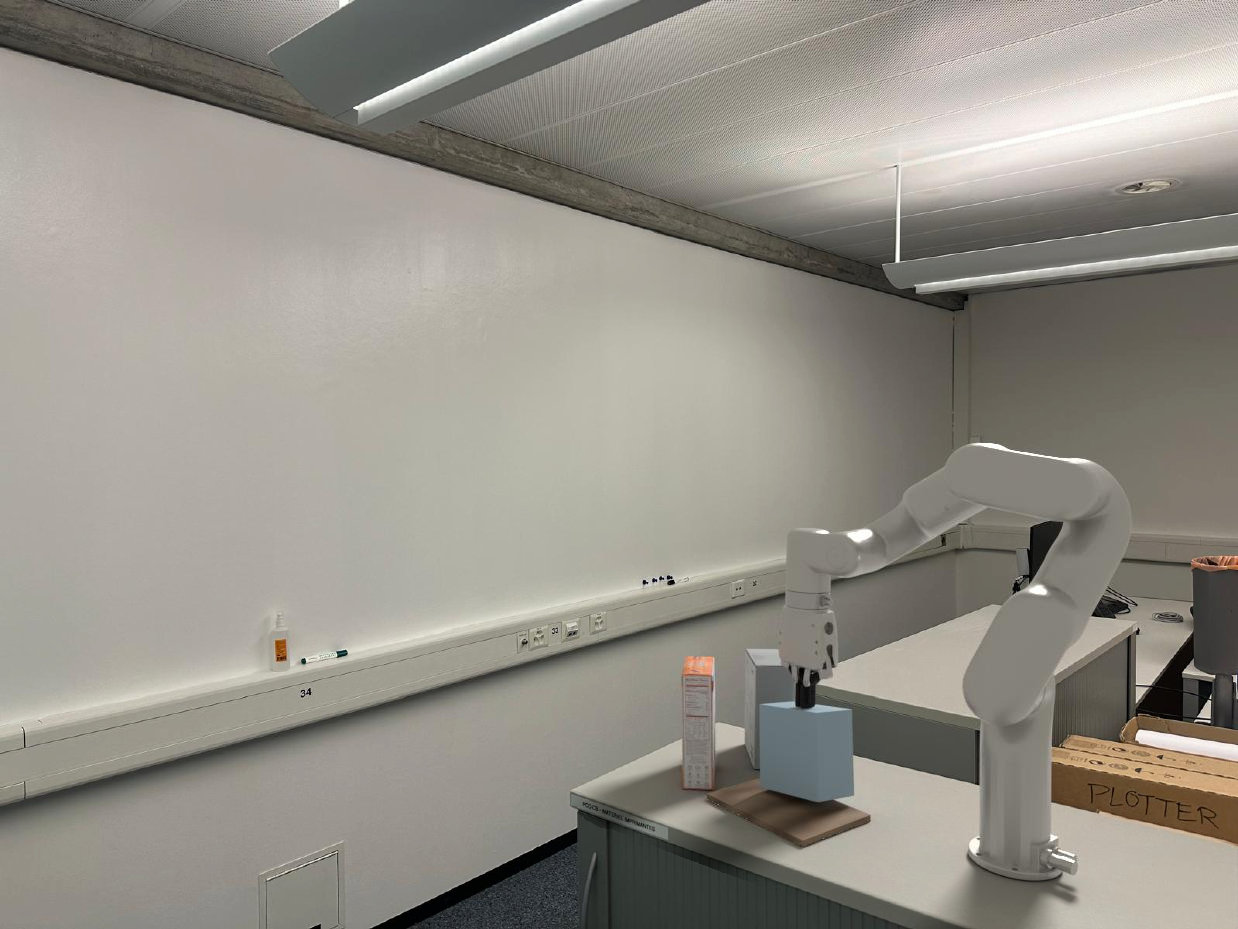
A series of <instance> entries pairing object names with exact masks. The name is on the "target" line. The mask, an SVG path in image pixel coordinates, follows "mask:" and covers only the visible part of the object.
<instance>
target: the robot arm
mask: <svg viewBox="0 0 1238 929" xmlns="http://www.w3.org/2000/svg"><path fill="white" fill-rule="evenodd" d="M987 508H990V509H994V510H1000V511H1003V512H1008V513H1014V514H1018V515H1023V516H1028V517H1032V518H1035V519H1041V520H1045V521H1051V522H1059V523H1062V526H1061V530H1060V531H1059V533H1058V536H1057V537H1056V539H1055V540H1054V542H1053V543H1052V544H1051V546H1050V548H1049V550H1048V552H1047V553H1046V555H1045V558H1044V560H1043V561H1042V563H1041V565H1040V567H1039V569H1038V570H1037V572H1036V574H1035V576H1034V577H1033V579H1032V580H1031V582H1029V584H1028V585H1027V586H1026V587H1025V588H1023V589H1021V590H1020V591H1017V592H1015V593H1014V594H1013V595H1011V596H1010V597H1009V598H1007V600H1006V601H1005V602H1004V603H1003V604H1002V605H1001V606H1000V608H999V610H998V611H997V613H996V614H995V616H994V618H993V620H992V621H991V624H990V625H989V627H988V628H987V631H986V633H985V634H984V635H983V638H982V640H981V641H980V643H979V645H978V647H977V649H976V651H975V652H974V654H973V656H972V658H971V659H970V662H969V663H968V665H967V667H966V670H965V671H964V674H963V678H962V682H961V683H962V686H961V689H962V695H963V700H964V702H965V704H966V706H967V707H968V708H969V710H970V712H971V713H972V714H973V715H974V716H975V717H976V718H978V720H979V719H980V730H979V732H980V733H979V736H980V737H979V835H978V836H976V837H973V838H972V839H971V840H969V841H968V845H967V853H968V856H969V857H970V858H971V859H972V861H973V862H974V863H975V864H976V865H979V866H980V867H981V868H983V869H984V870H985V869H986V870H987V871H989V872H991V873H995V874H997V875H1000V876H1002V877H1003V876H1004V877H1006V878H1010V879H1011V878H1012V879H1016V880H1024V881H1046V880H1047V881H1048V880H1051V879H1054V878H1057V877H1058V876H1060V875H1061V874H1062V873H1065V874H1069V875H1071V876H1075V875H1076V874H1077V872H1078V868H1079V865H1078V856H1077V855H1076V854H1075V853H1071V852H1068V851H1064V850H1061V847H1059V837H1058V836H1056V835H1053V834H1052V759H1053V758H1052V755H1053V754H1052V753H1053V752H1052V751H1053V750H1052V746H1053V744H1052V743H1053V741H1052V740H1053V720H1054V712H1055V703H1056V702H1055V700H1056V678H1055V673H1054V672H1055V671H1056V669H1057V667H1058V666H1059V664H1060V662H1061V660H1062V659H1063V657H1064V656H1065V654H1066V652H1068V650H1069V649H1070V648H1071V647H1072V646H1074V645H1075V644H1076V643H1077V642H1078V641H1079V640H1080V639H1081V637H1082V636H1083V634H1084V632H1085V630H1086V627H1087V624H1088V623H1089V621H1090V619H1091V617H1092V615H1093V613H1094V611H1095V609H1096V608H1097V605H1098V604H1099V602H1100V600H1101V599H1102V597H1103V595H1104V594H1105V592H1106V590H1107V588H1108V586H1109V584H1110V582H1111V580H1112V578H1113V576H1114V574H1116V573H1115V572H1117V569H1118V567H1119V565H1120V564H1121V561H1122V560H1123V557H1124V556H1125V554H1126V551H1127V548H1128V546H1129V542H1130V540H1131V539H1130V538H1131V536H1132V529H1133V517H1132V509H1131V505H1130V502H1129V499H1128V497H1127V495H1126V493H1125V490H1124V489H1123V487H1122V486H1121V485H1120V483H1119V482H1118V480H1117V479H1116V478H1115V477H1114V476H1113V475H1112V473H1110V471H1108V469H1106V468H1105V467H1103V466H1102V465H1100V464H1098V463H1096V462H1094V461H1092V460H1088V459H1085V458H1062V457H1060V458H1059V457H1054V456H1046V455H1042V454H1035V453H1029V452H1021V451H1016V450H1011V449H1008V448H1007V447H1005V446H1002V445H1000V444H998V443H997V444H995V443H983V442H982V443H981V442H975V443H968V444H965V445H963V446H961V447H959V448H957V449H956V450H955V451H953V452H952V453H951V454H950V456H949V457H948V459H947V460H946V462H945V465H944V466H943V467H942V468H940V469H938V470H936V471H935V472H933V473H931V474H930V475H928V476H926V477H925V478H924V479H922V480H920V481H918V482H917V483H914V484H913V485H911V486H909V488H907V489H906V490H905V491H904V493H903V495H902V500H901V501H900V502H899V504H897V506H896V507H895V508H893V509H891V510H890V511H889V512H887V513H886V514H884V515H883V516H882V517H879V518H877V519H876V520H874V521H873V522H871V523H869V524H867V525H866V526H865V525H864V527H862V528H858V529H857V528H856V529H852V530H846V531H837V532H830V531H828V530H825V529H822V528H817V527H816V528H815V527H798V528H792V529H791V530H789V531H788V533H787V537H786V557H785V558H786V559H785V560H786V561H785V563H786V564H785V566H786V567H785V597H784V598H785V603H784V605H783V606H782V611H781V616H780V621H779V627H778V628H779V629H778V630H779V631H778V644H777V646H778V648H777V649H778V652H779V657H780V659H781V665H782V666H783V667H785V668H786V669H788V670H789V671H790V673H791V675H792V680H793V682H794V684H795V689H794V691H795V692H794V693H795V695H794V697H795V698H794V701H795V706H796V707H798V708H799V707H800V708H801V709H807V708H812V707H814V706H815V704H816V689H817V687H816V686H817V685H819V684H820V682H821V680H830V679H832V678H833V677H834V673H833V669H835V668H837V667H838V665H839V638H838V627H837V621H836V615H835V611H834V610H831V607H833V606H834V603H835V600H834V598H831V587H832V585H831V584H832V583H831V580H832V577H836V578H840V579H842V578H843V579H849V578H854V577H857V576H858V577H859V576H860V575H865V574H868V573H873V572H875V571H878V570H880V569H882V568H884V567H885V566H886V567H887V566H888V565H890V564H891V563H893V562H895V561H896V560H899V559H900V558H902V557H904V556H906V555H908V554H910V553H911V552H913V551H915V550H916V549H918V548H920V547H921V546H922V545H924V544H926V543H928V542H930V541H932V540H934V539H935V538H937V537H938V536H940V535H941V534H943V533H944V532H946V531H948V530H951V529H952V528H953V527H955V526H957V525H958V524H960V523H962V522H964V521H966V520H968V519H970V518H971V517H973V516H974V515H976V514H978V513H980V512H982V511H985V510H986V509H987Z"/></svg>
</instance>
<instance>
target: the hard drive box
mask: <svg viewBox="0 0 1238 929" xmlns="http://www.w3.org/2000/svg"><path fill="white" fill-rule="evenodd" d="M744 656H745V657H744V662H745V663H744V744H745V748H746V751H747V753H748V754H747V755H748V756H749V758H750V762H751V765H752V767H753V770H755V769H756V770H760V712H759V704H768V703H780V702H793V701H795V698H794V697H795V695H794V693H795V692H794V691H795V688H794V686H795V683H794V682H793V680H792V675H791V673H790V671H789V670H788V669H786V668H785V667H783V666H782V665H781V659H780V657H779V652H778V648H745V650H744Z"/></svg>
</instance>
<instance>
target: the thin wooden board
mask: <svg viewBox="0 0 1238 929" xmlns="http://www.w3.org/2000/svg"><path fill="white" fill-rule="evenodd" d="M707 799H708V800H707ZM706 800H707V801H709V802H711V801H713V802H714V803H713V802H712V803H713V804H715V803H716V804H715V805H717V804H719V805H720V806H719V805H718V806H719V807H721V806H722V807H721V808H723V807H724V808H723V809H725V808H727V809H728V810H727V809H726V810H727V811H729V810H730V812H731V811H733V812H734V813H733V812H732V813H733V814H735V813H736V815H737V814H739V815H740V816H739V815H738V816H739V817H741V816H742V817H741V818H743V817H744V818H743V819H745V818H747V819H748V820H747V819H746V820H747V821H749V820H750V821H749V822H751V821H753V822H754V824H755V825H758V826H759V825H760V827H761V826H762V827H761V828H763V827H764V829H765V828H767V829H768V830H767V829H766V830H767V831H769V830H770V832H771V831H772V833H773V832H774V834H776V835H778V836H780V835H781V836H780V837H782V838H784V839H786V838H787V839H786V840H788V841H790V842H791V843H794V842H795V843H794V844H795V845H798V846H800V845H801V847H802V848H805V847H806V846H805V845H807V846H810V845H812V844H814V843H813V842H815V843H817V842H816V841H818V842H820V841H821V840H820V839H823V838H825V839H827V838H826V837H828V838H830V837H829V836H830V835H833V836H835V835H834V834H836V833H838V834H840V833H839V832H841V833H843V831H844V832H846V831H848V830H847V829H849V828H851V829H853V827H854V828H856V827H859V826H861V825H864V824H866V823H869V822H871V821H872V820H871V814H869V813H868V812H864V811H862V810H860V809H858V808H855V807H852V806H850V805H848V804H845V803H842V802H841V801H838V800H837V799H833V800H828V801H823V802H815V801H811V800H807V799H803V798H800V797H796V796H792V795H788V794H784V793H780V792H777V791H773V790H769V789H765V788H761V787H760V777H757V778H754V779H750V780H748V781H745V782H741V783H737V784H734V785H730V786H728V787H725V788H721V789H718V790H715V791H714V790H713V791H711V792H708V793H706ZM753 822H752V823H753ZM858 825H859V826H858ZM845 830H846V831H845ZM849 830H850V829H849ZM836 835H837V834H836ZM819 840H820V841H819ZM823 840H824V839H823ZM809 844H810V845H809ZM804 846H805V847H804Z"/></svg>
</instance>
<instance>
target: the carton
mask: <svg viewBox="0 0 1238 929" xmlns="http://www.w3.org/2000/svg"><path fill="white" fill-rule="evenodd" d="M759 712H760V769H759V778H760V787H761V788H765V789H769V790H773V791H777V792H780V793H784V794H788V795H792V796H796V797H800V798H803V799H807V800H811V801H815V802H823V801H828V800H838V799H843V798H849V797H853V796H855V780H854V778H855V776H854V775H855V774H854V773H855V770H854V743H853V742H854V738H853V737H854V736H853V709H850V708H844V707H836V706H831V705H829V706H828V705H822V704H816V703H815V706H814V707H812V708H807V709H801V708H800V707H799V708H798V707H796V706H795V700H794V701H793V702H780V703H768V704H759Z"/></svg>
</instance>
